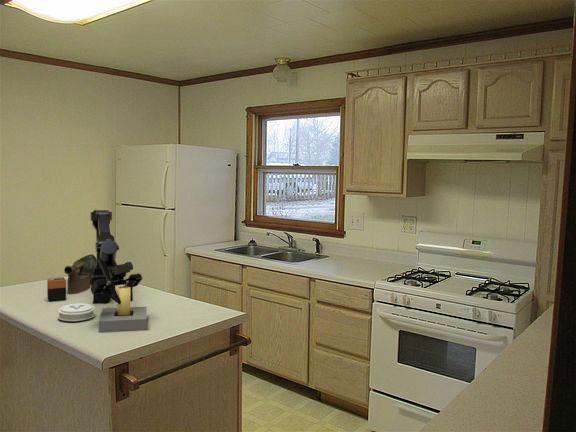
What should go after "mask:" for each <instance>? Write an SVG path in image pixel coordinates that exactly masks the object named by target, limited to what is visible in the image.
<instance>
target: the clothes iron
mask: <svg viewBox="0 0 576 432" xmlns="http://www.w3.org/2000/svg"><path fill="white" fill-rule="evenodd" d="M84 265H85V264H84V263H83V262H81V263H79V264H76V265H74V266H72V265H66V266H65V267H64V269H63V270H64V271H63V272H64V273H65V274H66V275H67V279H66V287H67V288H66V293H67V294H68V295H73V294H74V295H76V294H80V293H83V292H85V291H88V290H89V289H91V283H90V274H89V273H85V272H84ZM77 269H80V271H79V272H76V270H77Z"/></svg>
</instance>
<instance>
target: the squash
mask: <svg viewBox="0 0 576 432" xmlns="http://www.w3.org/2000/svg"><path fill="white" fill-rule="evenodd" d="M81 262H83V263H84V264H85V265H84V272H85V273H89V274H90V284H91V275H93V270H94V268H95V267H96V265H97V257H96V256H95V255H94V254H92V253H91V254H87V255H84V256H83V257H81V258H79V259H77V260H76V261H73V263H72V265H71V266H74V265H76V264H79V263H81ZM79 271H80V269H77V270H76V272H79Z"/></svg>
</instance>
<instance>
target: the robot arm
mask: <svg viewBox="0 0 576 432" xmlns="http://www.w3.org/2000/svg"><path fill="white" fill-rule="evenodd" d="M89 215H90V220H89V221H90V222H91V225H92V228H93V229H94V230H95V240H96V241H95V243H94V247H95V248H94V250H95V253H96V256H95V257H96V259H97V265H96V267H95V268H94V270H93V275H91V283H90V292H91V294H92V296H93V297H92V299H93V301H92V304H109V303H110V301H111V300H113V301H114V302H115V303H117V305H118V304H121V301H120V298H119V296H118V291H117V290H116V287H119V286H128V287H131V294H130V303H131V302H133V301H134V296H133V295H134V293H133V288H135V287H137V286H138V285H139V284H140V283H141V282H142V280H143V279H144V278H143V276H142V274H141V273H140V272H139V273H137V272H136V273H132V274H130V275H128V277H127V274H128V273H131V271H132V270H133V269H134V265H133V263H132V261H127V262H124V263H122V264H121V263H120V264H118V263H117V261H116V258H117V253H118V251H119V250H120V246H119V244H118V243H117V242H116V241H115V236H113V235H112V233H111V227H110V224H111V222H112V220H113V211H109V209H93V210H92V211H91V212H90V214H89ZM126 277H127V278H126Z"/></svg>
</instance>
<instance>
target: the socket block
mask: <svg viewBox="0 0 576 432" xmlns="http://www.w3.org/2000/svg"><path fill="white" fill-rule="evenodd" d="M147 310H148V309H147V306H132V307H131V306H130V316H118V307H105V308H104V307H103V308H102V310H101V312H100V316H99V319H98V333H108V332H109V333H112V332H130V331H147Z"/></svg>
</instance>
